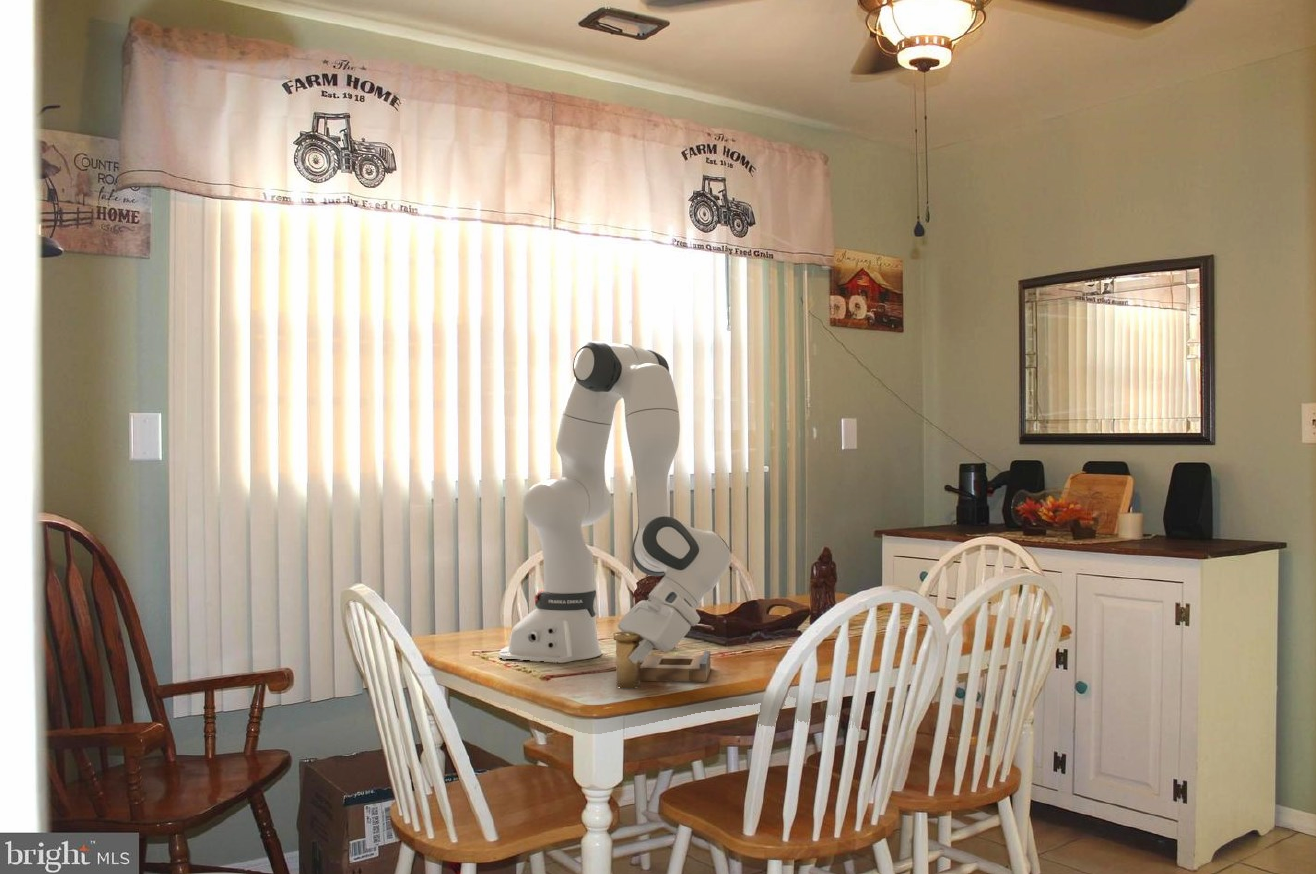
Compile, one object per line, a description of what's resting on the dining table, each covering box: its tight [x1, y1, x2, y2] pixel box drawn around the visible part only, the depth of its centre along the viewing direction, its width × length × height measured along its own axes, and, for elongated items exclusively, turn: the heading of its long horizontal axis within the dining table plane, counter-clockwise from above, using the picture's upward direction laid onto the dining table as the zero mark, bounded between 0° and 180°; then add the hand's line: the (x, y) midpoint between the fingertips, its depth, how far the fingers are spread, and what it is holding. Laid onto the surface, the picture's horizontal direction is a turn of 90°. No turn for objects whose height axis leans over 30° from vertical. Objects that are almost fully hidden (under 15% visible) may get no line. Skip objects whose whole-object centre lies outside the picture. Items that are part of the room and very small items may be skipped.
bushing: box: [613, 631, 642, 689], centre depth 197 cm, size 5×5×10 cm
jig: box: [639, 650, 711, 683], centre depth 207 cm, size 13×13×4 cm
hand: (624, 658), depth 197 cm, fingers closed on bushing, 4 cm apart
